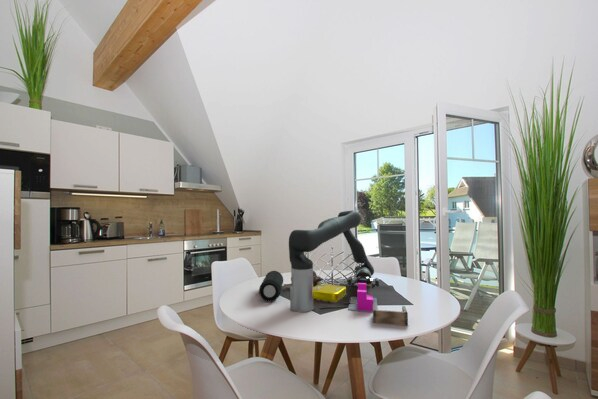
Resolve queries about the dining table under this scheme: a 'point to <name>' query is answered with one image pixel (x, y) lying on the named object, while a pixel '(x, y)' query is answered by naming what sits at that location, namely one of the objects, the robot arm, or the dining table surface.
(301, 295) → the robot arm
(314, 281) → the pine cone
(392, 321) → the walnut bracket
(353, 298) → the slate mat
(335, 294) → the element tile
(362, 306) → the toy block
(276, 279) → the portable speaker
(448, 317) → the dining table surface
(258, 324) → the dining table surface
